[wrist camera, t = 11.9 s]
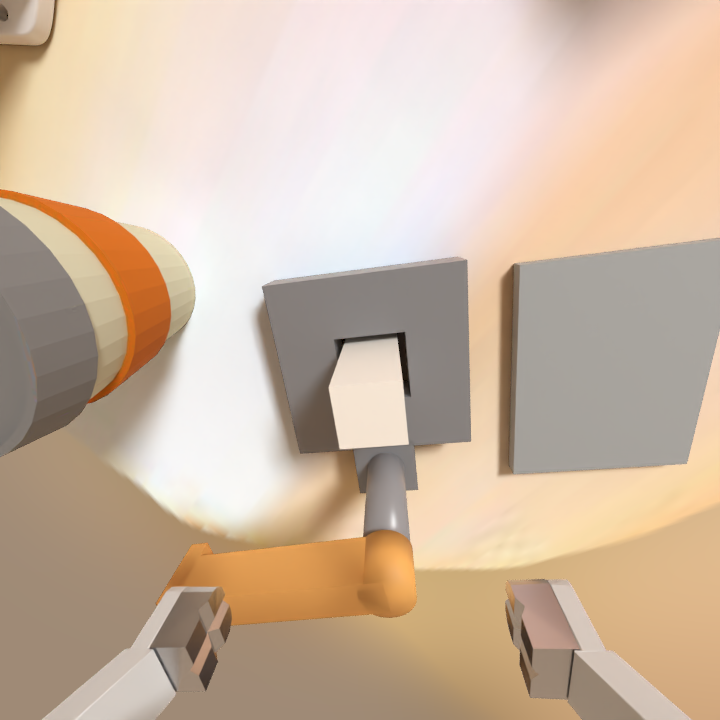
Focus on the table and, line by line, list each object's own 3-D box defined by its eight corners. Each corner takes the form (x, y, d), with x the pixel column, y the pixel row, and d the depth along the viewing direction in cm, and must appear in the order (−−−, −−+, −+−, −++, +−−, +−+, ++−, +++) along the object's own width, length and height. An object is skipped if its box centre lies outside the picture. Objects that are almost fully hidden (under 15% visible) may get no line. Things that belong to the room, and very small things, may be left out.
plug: (353, 379, 29) (339, 449, 20) (347, 334, 28) (328, 387, 18) (400, 374, 29) (408, 444, 19) (396, 329, 27) (402, 380, 18)
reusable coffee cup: (116, 158, 24) (-253, 58, 10) (249, 290, 27) (102, 354, 13) (36, 279, 28) (-318, 329, 14) (160, 384, 30) (-30, 515, 16)
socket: (316, 473, 33) (288, 573, 23) (274, 280, 26) (212, 308, 17) (464, 463, 31) (499, 567, 22) (457, 256, 25) (504, 272, 15)
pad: (508, 465, 31) (513, 474, 30) (513, 263, 25) (520, 265, 24) (675, 454, 29) (686, 463, 28) (725, 237, 23) (742, 237, 22)
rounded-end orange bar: (414, 551, 22) (421, 615, 19) (206, 572, 24) (174, 634, 21) (406, 514, 21) (411, 574, 18) (189, 540, 23) (152, 599, 20)
